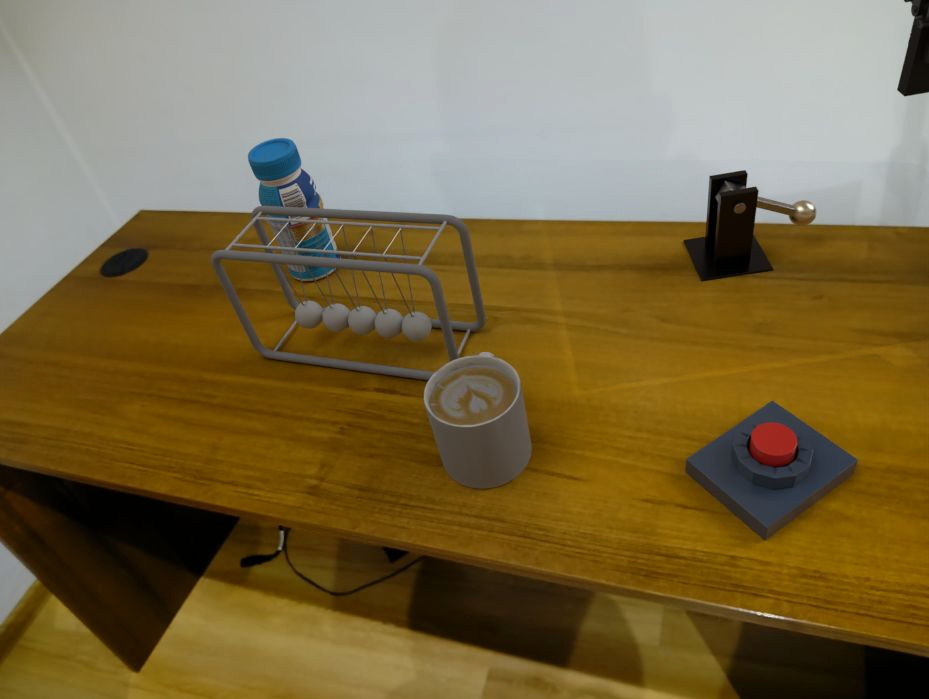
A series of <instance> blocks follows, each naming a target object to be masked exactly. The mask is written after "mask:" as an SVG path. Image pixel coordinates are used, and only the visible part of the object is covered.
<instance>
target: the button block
mask: <svg viewBox="0 0 929 699" xmlns="http://www.w3.org/2000/svg"><path fill="white" fill-rule="evenodd" d="M763 423H779V424H782V425H784V426H786V427H788V428H789V429H791V430H792V431H793V432H794V434H795V435H796V437H797V447H796V452H795V456H794V458H793V460H792V461H791V462H790V463H788V464H787V465H784V466H780V467H771V466H767V465H764V464H762V463H760V462H758V461H757V460H756V459H755V458H754V457H753V456H752V454H751V452H750V440H751V434H752V432H753V430H754V429H755V428H756V427H757V426H759V425H761V424H763ZM858 462H859V459H858V458H857V457H855V456H853V455H852V454H851V453H850V452H848V451H847V450H845V449H844V448H842V447H840V446H839V445H838V444H836V443H835V442H833V441H832V440H830V439H829V438H828V437H827V436H825V435H824V434H822V433H820V432H819V431H818V430H816V429H814V428H813V427H812V426H810V425H808V423H806V422H805V421H803V420H801V419H800V418H799V417H798V416H796V415H794V414H793V413H791V412H790V411H788V410H787V409H785V408H784V407H783V406H781V405H780V404H779V403H777V402H775V401H774V400H771V401H769V402H767V403H766V404H765V405H763V406H761V408H759V409H757V410H756V411H754V412H753V413H751V414H749V416H747V417H746V418H744V419H743V420H741V421H740V422H738V423H737V424H735V425H734V426H733V427H731V428H729V429H727V431H725V432H724V433H722V434H721V435H719V436H717V438H715V439H713V440H712V441H710V442H709V443H707V444H706V445H704V446H703V447H702V448H700V449H699V450H698V451H696V452H694V453H693V454H692V455H690V456H688V457H687V458H686V459H685V469H684V470H685V474H686V475H688V476H689V477H690V478H691V479H693V481H695V482H696V483H697V484H698V485H699V486H700V487H702V488H703V490H705V491H706V492H707V493H709V494H710V495H711V496H712V497H713V498H715V500H717V501H718V502H719V503H720V504H721V505H722V506H723V507H725V509H727V510H728V511H729V512H731V513H732V514H733V515H734V516H735V517H736V518H738V519H739V520H740V521H741V522H742V523H743V524H744V525H746V527H748V528H749V529H750V530H751V531H753V533H755V534H756V536H758V537H760V538H761V540H763V541H764V542H766V541H767V540H769V539H770V538H771V537H773V536H774V535H775V534H777V533H778V532H779V531H780V530H782V529H783V528H785V527H786V526H787V525H788V524H790V523H791V522H792V521H793V520H795V519H796V518H798V517H799V516H800V515H802V514H803V513H804V512H806V511H807V510H808V509H810V507H812V506H814V505H815V504H816V503H817V502H818V501H820V500H821V499H823V498H824V497H825V496H827V495H828V494H829V493H830V492H832V491H833V490H835V489H836V488H838V486H840V485H841V484H843V482H845V481H846V480H848V479H849V478H850V477H852V476H853V475H854V474H855V472H856V468H857V465H858Z"/></svg>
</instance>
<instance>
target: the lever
mask: <svg viewBox="0 0 929 699" xmlns="http://www.w3.org/2000/svg"><path fill="white" fill-rule="evenodd" d="M744 188H747V186H746V187H745V186H744V185H740V184H736V183H732V182H728V181H724V182H723V184H722V186H721V188H720V189H719V191H718V193H717V195H716V196H715V197H716V199H717V201H718V198H719V192H725V191H731V190H738V189H744ZM757 208H758V209H761V210H766V211H769V212H773V213H777V214H780V215H781V214H782V215H786V216H788V219H789V221H790V222H791V223H792V224H793V225H795V226H798V227H806V226H808V225H810V224H812V223H813V222H814V221H815V219H816V217H817V214H818V213H817V207H816V205H815V204H814V203H813V202H811V201H809V200H806V199H802V200H801V199H800V200H797V201H795V202H794V203H792V204H789V203H787V202H782V201H777V200H774V199H770V198H767V197H766V198H765V197H761V196H758V200H757ZM757 208H756V209H757Z"/></svg>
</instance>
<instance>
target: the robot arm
mask: <svg viewBox="0 0 929 699" xmlns="http://www.w3.org/2000/svg"><path fill="white" fill-rule="evenodd" d="M903 1H904V3H910V4H911V8H910V13H911V16H912V17H913V21H912V25H911V30H910V34H909V38H908V42H907V48H906V52H905V56H904V60H903V64H902V68H901V72H900V76H899V79H898V80H899V81H898V85H897V89H896V91H897V92H899V94H901V95H902V96H903V97H911V96H915V95H922V94H928V93H929V0H903Z"/></svg>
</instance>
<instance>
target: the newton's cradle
mask: <svg viewBox="0 0 929 699" xmlns="http://www.w3.org/2000/svg"><path fill="white" fill-rule="evenodd" d="M250 214H251V216H250V218H251V221H249V223H247V225H246V226H245V227H244V228H243V229H242V230H241V231H240V232H239V233H238V235H237V236H236V237H235V238H234V239H233V240H232V242H230V243H229V245H227V247H226V248H225V249H218V250H215V251H214V252H213V253H212V254H211V256H210V265H211V267H212V269H213V271H214V273H215V275H216V278H217V279H218V281H219V283H220V285H221V287H222V289H223V290H224V292H225V295H226V297H227V299H228V300H229V303H230V304H231V306H232V308H233V310H234V313H235V315H237V318H238V320H239V322H240V325H241V326H242V328H243V331H244V332H245V335H246V336H247V338H248V340H249V342H250V344H251V346H252V347H253V349H254V350H255V351H256V352H257V353H258V354H260V355H261V356H263V357H264V358H266V359H270V360H277V361H284V362H291V363H296V364H297V363H299V364H305V365H313V366H320V367H328V368H334V369H342V370H349V371H356V372H364V373H371V374H376V375H377V374H378V375H385V376H393V377H399V378H406V379H414V380H421V381H427V382H428V381H429V379H430V378H431V376H432V375H433V374H434V373H435V372H436V371H429V370H422V369H416V368H415V369H414V368H405V367H398V366H391V365H385V364H384V365H383V364H377V363H368V362H360V361H353V360H347V359H337V358H331V357H324V356H316V355H310V354H309V355H308V354H300V353H294V352H285V351H279V349H280V348H281V346H282V345H283V343H284V342H285V340H287V338H288V336H289V335H290V334H291V332H292V331H293V329H294V328H295V326H296V325H297V324H298V325H299V326H300V327H301V328H304V329H308V330H313V329H315V328H317V327H319V326H320V325H321V324H322V323H323V325H324V327H325V328H326V329H328V331H330V332H334V333H341V332H343V331H346V329H348V328H350V330H351V331H352V332H353V333H355V334H356V335H358V336H359V335H360V336H366V335H369V334H371V333H373V332H374V330H375V331H376V333H377V334H378V335H379V336H381V338H382V337H383V338H386V339H393V338H396V337H399V335H400V334H401V333H403V335H404V336H405V338H407V340H409V341H412V342H422V341H424V340H426V339H427V338H428V337H429V336H430V334H431V332H432V328H435V329H441V331H442V336H443V340H444V342H445V344H444V345H445V347H446V351H447V355H448V358H449V359H448V360H449V362H451V361H453V360H456V359H459V358H460V354H461V353H462V350H463V348H464V346H465V344H466V341H467V339H468V337H469V335H470V333H471V332H478V331H481V330H482V329H483V328H484V327H485V325H486V323H487V316H486V312H485V305H484V302H483V296H482V291H481V286H480V281H479V276H478V271H477V266H476V265H477V264H476V261H475V256H474V251H473V250H474V249H473V245H472V242H471V236H470V231H469V229H468V226H467V225H466V223H465V222H464V221H463V220H461V219H460V218H459V217H457V216H455V215H453V214H452V215H451V214H444V213H443V214H442V213H422V212H403V211H402V212H401V211H383V210H381V211H379V210H362V209H361V210H360V209H359V210H358V209H340V208H324V209H320V208H300V207H279V206H262V205H258V206H256V207H255V208H253V210H252V212H251V213H250ZM265 215H278V216H296V217H315V218H327V219H333V220H328V221H321V220H303V219H285V218H267V217H265ZM334 219H335V220H334ZM336 219H337V221H336ZM339 220H353V221H358V220H359V221H371V222H353V221H339ZM262 221H266V222H267V221H281V222H287V224H288V227H289V232H290V236H291V240H292V245H293V248H290V247H279V246H277V245H276V246H273V244H272V243H273V242H274V240H276V237H277V235H278V234H279V233H280V232H281V231H282V230H283V228H284V227H285V226H286V225H287V224H286V225H285V226H284V227H283V228H282V229H281V231H280V232H279V233H278V234H277V235H276V237H275V236H274V238H273V239H272V240H270V238H269V235H268V234H267V231H266V228H265V226H264V224H263V222H262ZM372 221H374V223H373V222H372ZM289 222H298V223H315V224H314V225H315V230H316V234H317V238H318V242H319V247H320V250H318V249H304V248H296V247H297V246H298V245H299V244H300V242H301V241H302V240H303V239H304V237H305V236H306V235H307V234H308V232H309V231H310V230H311V229H312V228H313V226H314V225H313V226H312V227H311V229H310V230H309V231H308V232H307V234H306V235H305V236H304V237H303V239H302V240H301V241H300V242H299V244H298V245H297V246H296V247H295V248H294V243H293V239H292V235H291V230H290V226H289ZM375 222H393V223H394V224H393V223H392V224H390V223H375ZM395 223H407V224H395ZM408 223H409V225H408ZM410 223H412V224H429V225H430V226H428V225H427V226H426V225H410ZM316 224H329V225H333V226H334V225H337V226H340V227H339V229H338V230H337V232H336V233H335V234H334V235H333V238H334V239H335V237H336V236H337V235H338V233H339V232H340V230H341V229H342V234H343V239H344V243H345V247H346V251H345V250H339V251H332V250H325V249H326V247H327V246H328V245H329V243H330V242H331V241H332V239H333V238H332V239H331V241H330V242H329V243H328V245H327V246H326V247H325V248H324V250H321V245H320V241H319V237H318V232H317V228H316ZM431 224H432V225H440V226H431ZM252 226H253V228H254V229H255V232H256V234H257V236H258V238H259V241H260V243H261V244H247V243H237V242H238V241H239V240H240V239H242V237H243V236H244V234H246V233H247V232H248V230H250V229H251V227H252ZM344 226H350V227H351V226H352V227H353V226H354V227H369V228H368V230H367V231H366V232H365V234H364V235H363V237H362V238H361V240H359V243H358V244H357V245H356V247H355V248H354V249H353V251H349V246H348V241H347V237H346V232H345V228H344ZM446 226H451V227H453V229H456V230H457V232H458V234H459V240H460V243H461V244H460V245H461V248H462V254H463V258H464V264H465V267H466V272H467V277H468V282H469V287H470V292H471V297H472V300H473V306H474V310H475V315H476V321H475V322H467V321H455V320H451V319H450V316H449V310H448V307H447V303H446V299H445V294H444V290H443V287H442V283H441V281H440V278H439V276H438V275H437V274H436V273H435V271H434V270H432V269H431V268H429V267H427V266H425V265H423V264H424V262H425V261H426V259H427V258H428V256H429V254H430V252H431V251H432V249H433V247H434V245H435V244H436V242H437V240H438V239H439V237H440V236H441V234H442V233H443V231H444V229H445V227H446ZM373 228H385V229H387V228H388V229H398V230H397V232H396V234H395V235H394V237H393V239H392V240H391V241H390V243H389V245H388V246H387V247H386V249H385V251H384V252H383V253H377V248H376V247H377V246H376V242H375V236H374V234H373V233H374V232H373ZM402 229H405V230H406V229H407V230H423V231H424V230H426V231H437V232H436V233H435V236H433V239H432V240H431V242H430V244H429V245H428V247H427V248H426V250H425V251H424V254H423V255H422V256H413V255H406V251H405V244H404V238H403V232H402ZM369 232H371V238H372V244H373V248H374V253H371V252H358V251H356V249H357V248H358V247H359V246H360V244H361V242H362V241H363V240H364V239H365V237H366V236H367V234H368V233H369ZM399 233H400V239H401V245H402V251H403V255H400V254H399V255H398V254H386V252H387V251H388V249H390V246H391V245H392V243H393V242H394V240H395V239H396V237H397V236H398V234H399ZM232 248H246V249H258V250H259V249H260V250H264V252H260V251H245V250H235V249H234V250H232ZM281 250H284V251H294V253H295V255H287V254H282V253H276V252H275V251H281ZM295 251H297V253H298V255H296V252H295ZM299 252H312V253H321V255H322V257H313V256H301V255H300V254H299ZM322 253H325V255H326V257H327V258H326V257H323V254H322ZM327 254H339V255H340V256H348V258H341V259H339V258H329V257H328V256H327ZM352 256H353V257H354V258H355V259H351V257H352ZM358 257H365V258H366V257H368V258H375V260H366V259H365V260H364V259H358ZM378 258H379V259H381V258H383V259H384V261H379V259H378ZM388 259H394V260H404V262H389V261H388ZM221 260H228V261H240V262H241V261H243V262H252V263H266V264H270V266H271V268H272V271H273V272H274V275H275V277H276V279H277V280H276V281H277V282H278V284H279V287H280V289H281V291H282V293H283V295H284V298H285V300H286V302H287V304H288V305H289V306H290V307H291V308H292V309H294V319H295V320H294V322H293V323H292V324H291V326H290V327H289V328H288V329H287V331H286V333H285V334H284V336H283V337H282V338H281V339H280V341H279V342H278V344H277V345H276V346H275V347H274V349H273V350H272V349H269V348H267V347H266V346H264V345H263V344H262V342H261V340H260V338H259V336H258V334H257V332H256V330H255V328H254V326H253V324H252V323H251V320H250V318H249V316H248V314H247V312H246V310H245V308H244V306H243V304H242V302H241V300H240V299H239V296H238V294H237V292H236V290H235V288H234V286H233V284H232V282H231V280H230V278H229V276H228V274H227V272H226V270H225V268H224V266H223V264H222V262H221ZM407 260H408V261H409V260H410V261H419V262H418V263H417V264H416V263H408V262H407ZM287 264H288V265H297V266H298V271H299V275H300V280H301V281H300V280H299V281H300V283H301V284H300V285H301V288H302V292H303V296H304V301H303V300H302V299H301V297H300V295H299V294H298V292H297V291H296V289H295V287H294V286H293V284H292V282H291V281H290V279H289V277H288V276H287V273H286V272H285V271H284V269H283V267H282V265H287ZM299 265H300V266H306V268H307V270H308V271H309V269H308V267H307V266H313V267H324V268H325V272H326V280H327V285H328V288H329V293H330V297H331V301H332V304H330V302H329V300H328V299H327V297H326V296H325V294H324V292H323V290H322V288H321V287H320V285H319V284H318V282H317V280H315V279H314V277H313V276H312V274H311V272H310V271H309V273H310V275H311V276H312V278H313V280H314V283H315V285H316V287H317V289H318V290H319V291H320V293H321V295H322V296H323V298H324V300H325V301H326V303H327V305H328V306H326V307H322V306H321V305H320V304H319V303H318V302H317V301H314V300H307V297H306V292H305V288H304V283H303V281H302V278H301V274H300V270H299ZM326 268H333V269H334V273H335V275H336V276H337V279H338V280H339V282H340V284H341V285H342V287H343V290H344V291H345V292H346V294H347V296H348V298H349V300H350V302H351V304H352V305H353V309H352V310H351V309H349V308H348V307H347V306H346V305H344V304H342V303H335V302H334V301H335V300H334V296H333V293H332V289H331V284H330V280H329V275H327V271H326ZM335 268H337V269H339V270H351V275H352V279H353V285H354V289H355V294H356V299H357V304H358V306H356V304H355V303H354V301H353V299H352V297H351V295H350V294H349V292H348V289H347V288H346V286H345V284H344V283H343V281H342V279H341V278H340V276H339V274H338V272H337V269H336V270H335ZM354 271H361V272H362V274H363V277H364V278H365V280H366V282H367V284H368V286H369V288H370V291H371V292H372V294H373V296H374V298H375V299H376V302H377V304H378V305H379V308H380V309H381V311H379V312H375V311H374V310H373V309H372V308H371V307H369V306H366V305H361V303H360V298H359V294H358V289H357V285H356V279H355V274H354ZM365 272H375V273H378V275H379V280H380V286H381V291H382V296H383V302H384V306H385V309H383V307H382V304H381V303H380V300H379V299H378V296H377V295H376V292H375V291H374V289H373V287H372V285H371V283H370V281H369V278H368V277H367V275H366V273H365ZM381 273H387V274H391V276H392V278H393V280H394V282H395V285H396V286H397V288H398V291H399V293H400V295H401V298H402V300H403V301H404V303H405V304H404V305H405V306H406V308H407V310H408V312H409V313H407V314H406V315H402V314H401V313H400V312H399V311H398V310H396V309H393V308H388V306H387V302H386V296H385V295H386V294H385V290H384V285H383V280H382V274H381ZM394 274H398V275H399V274H400V275H401V274H402V275H406V276H407V281H408V287H409V294H410V299H411V305H412V311H411V310H410V307H409V305H408V303H407V301H406V299H405V297H404V296H405V295H404V294H403V292H402V290H401V288H400V286H399V284H398V281H397V279H396V277H395V275H394ZM410 275H412V276H418V277H419V276H420V277H422V278H424V279H425V280H426V281H427V282H428V283H429V286H430V289H431V292H432V293H431V294H432V297H433V300H434V304H435V308H436V309H435V310H436V312H437V316H438V319H437V318H430V317H429V316H428V315H427V314H426V313H424V312H422V311H415V310H416V309H415V304H414V298H413V293H412V292H413V291H412V287H411V281H410ZM290 286H291V287H290ZM291 288H292V290H293V291H292V290H291ZM293 292H294V293H295V295H296V296H297V299H298V300H299V301H300V302H299V301H297V300H296V298H295V296H294V293H293ZM453 331H462V332H465V335H464V337H463V338H462V341H461V342H460V345H459V347H458V349H457V344H456V340H455V335H454V332H453Z"/></svg>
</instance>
